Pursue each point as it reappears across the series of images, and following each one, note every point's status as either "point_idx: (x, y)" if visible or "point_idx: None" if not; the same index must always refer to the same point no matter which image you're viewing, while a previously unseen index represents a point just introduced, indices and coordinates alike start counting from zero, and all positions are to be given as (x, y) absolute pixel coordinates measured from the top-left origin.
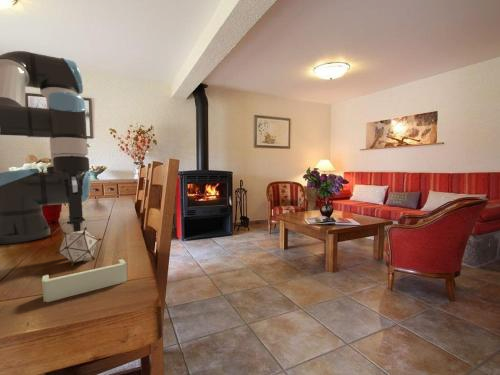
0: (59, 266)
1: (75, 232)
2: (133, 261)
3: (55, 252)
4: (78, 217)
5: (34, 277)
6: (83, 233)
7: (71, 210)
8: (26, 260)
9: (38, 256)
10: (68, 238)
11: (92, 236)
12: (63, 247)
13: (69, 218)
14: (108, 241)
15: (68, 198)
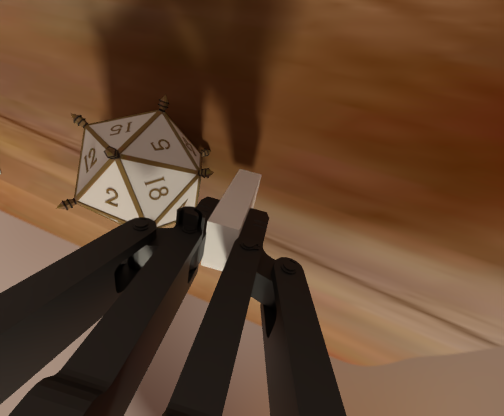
0: (173, 98)
1: (109, 189)
2: (87, 228)
3: (161, 98)
4: (127, 258)
5: (108, 7)
6: (70, 199)
7: (66, 261)
8: (378, 21)
9: (395, 77)
10: (97, 150)
11: (121, 223)
12: (119, 122)
13: (287, 259)
14: (344, 292)
15: (202, 395)
